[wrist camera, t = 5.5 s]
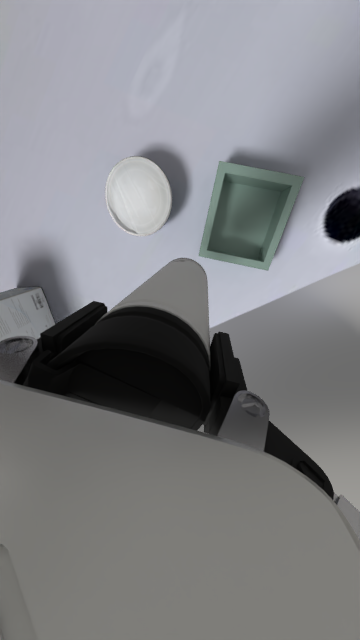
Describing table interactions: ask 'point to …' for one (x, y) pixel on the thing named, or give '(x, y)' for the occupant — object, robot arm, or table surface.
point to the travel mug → (142, 352)
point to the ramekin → (138, 196)
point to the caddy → (248, 214)
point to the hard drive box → (24, 313)
